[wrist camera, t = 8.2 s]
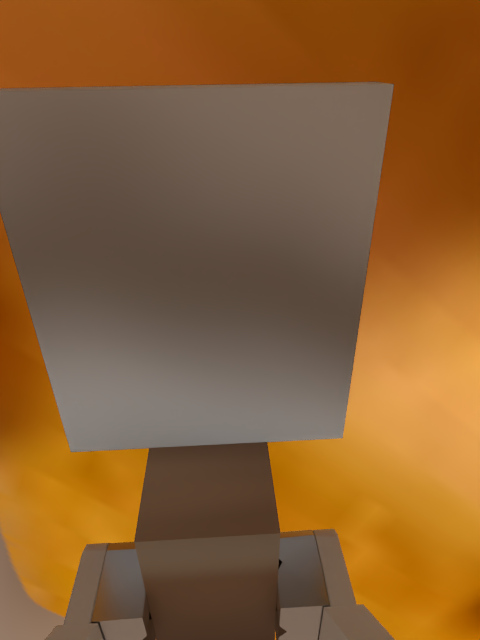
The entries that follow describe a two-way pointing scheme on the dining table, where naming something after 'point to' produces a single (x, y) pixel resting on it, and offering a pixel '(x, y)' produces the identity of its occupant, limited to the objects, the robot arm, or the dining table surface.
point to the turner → (197, 303)
